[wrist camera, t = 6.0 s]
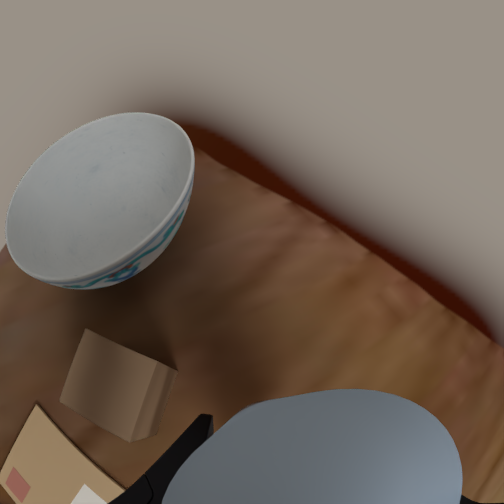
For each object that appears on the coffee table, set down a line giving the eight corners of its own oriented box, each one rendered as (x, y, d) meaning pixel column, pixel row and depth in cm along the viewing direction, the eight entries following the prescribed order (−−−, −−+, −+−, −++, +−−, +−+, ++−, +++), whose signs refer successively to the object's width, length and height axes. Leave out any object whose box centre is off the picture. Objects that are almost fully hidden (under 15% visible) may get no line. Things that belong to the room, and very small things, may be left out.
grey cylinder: (325, 423, 14) (497, 435, 3) (282, 489, 12) (356, 631, 1) (253, 385, 15) (272, 330, 4) (208, 451, 13) (107, 554, 2)
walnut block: (178, 371, 18) (157, 361, 14) (156, 434, 16) (129, 442, 12) (118, 346, 19) (85, 328, 15) (96, 404, 17) (59, 401, 12)
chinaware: (133, 360, 18) (79, 334, 12) (30, 263, 22) (-16, 218, 15) (241, 210, 25) (239, 140, 18) (124, 158, 28) (103, 101, 22)
